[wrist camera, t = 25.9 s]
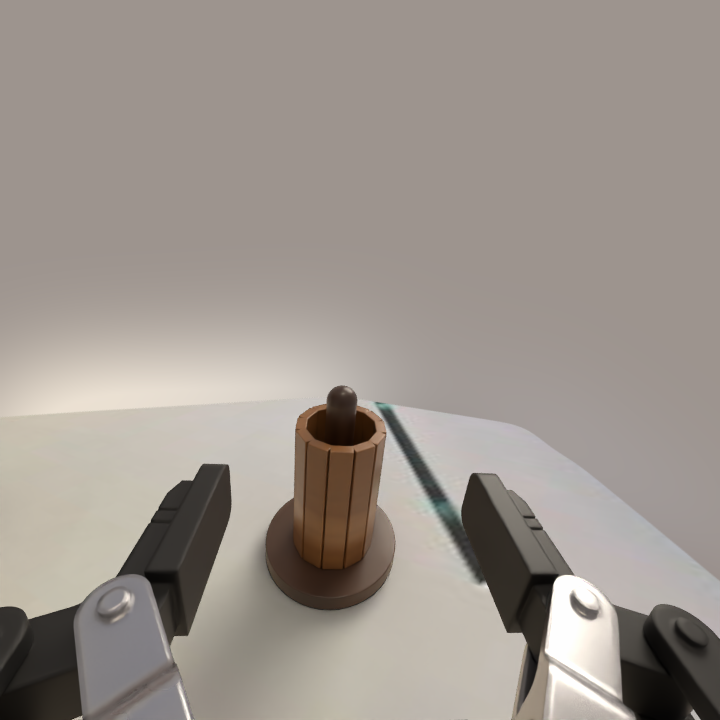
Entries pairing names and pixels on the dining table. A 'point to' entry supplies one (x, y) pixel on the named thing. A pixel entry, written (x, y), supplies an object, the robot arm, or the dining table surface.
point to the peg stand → (315, 582)
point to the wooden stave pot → (336, 489)
